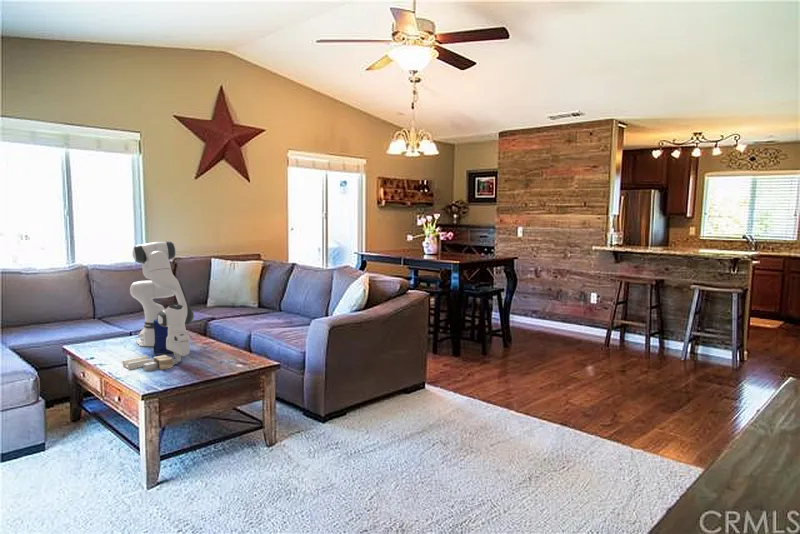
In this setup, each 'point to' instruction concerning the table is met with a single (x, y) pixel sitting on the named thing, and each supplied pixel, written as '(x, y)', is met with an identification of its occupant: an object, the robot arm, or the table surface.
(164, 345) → the book
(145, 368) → the bar
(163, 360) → the tan wooden block
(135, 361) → the cradle
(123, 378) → the table surface
